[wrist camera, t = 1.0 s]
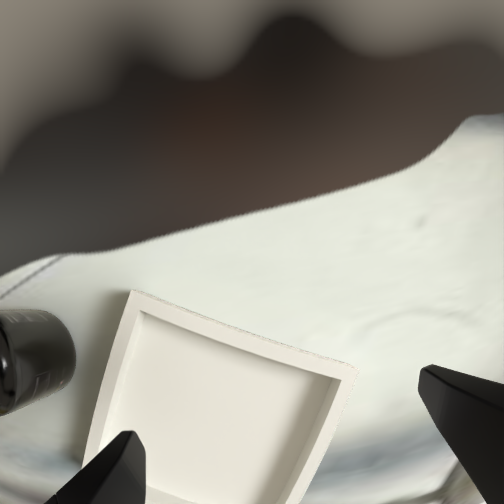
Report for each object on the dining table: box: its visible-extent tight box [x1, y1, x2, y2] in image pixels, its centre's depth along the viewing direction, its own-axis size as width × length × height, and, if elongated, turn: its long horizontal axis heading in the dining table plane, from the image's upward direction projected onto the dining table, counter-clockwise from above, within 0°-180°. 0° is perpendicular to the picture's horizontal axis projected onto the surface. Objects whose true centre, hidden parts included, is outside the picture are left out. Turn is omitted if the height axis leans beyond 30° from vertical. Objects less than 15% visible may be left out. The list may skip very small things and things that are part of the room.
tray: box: [82, 290, 360, 504], centre depth 20 cm, size 16×16×2 cm
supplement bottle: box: [0, 310, 76, 416], centre depth 15 cm, size 7×7×12 cm
